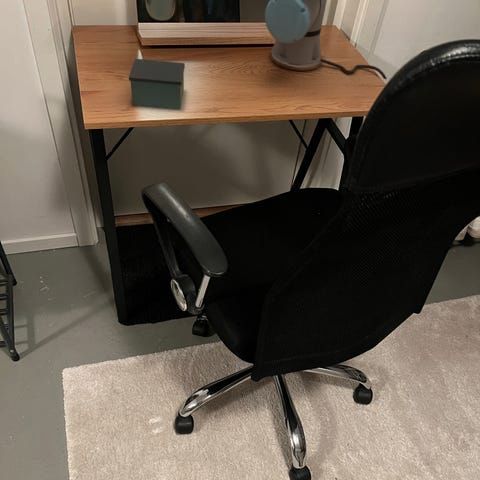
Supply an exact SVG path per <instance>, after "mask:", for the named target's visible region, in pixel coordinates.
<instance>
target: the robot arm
mask: <svg viewBox="0 0 480 480" xmlns="http://www.w3.org/2000/svg"><path fill="white" fill-rule="evenodd" d="M327 3H328V0H269V1H268V3H267V5H266V8H265V13H264V21H265V22H264V23H265V26H266V29H267V31H268V32H269V34H270V35H271V36H272V37H273V39H275V42H274V44H273V46H272V49H271V52H270V53H271V54H270V60H271V61H272V62H273V63H274V64H275V65H276V66H279V67H281V68H284V69H286V70H290V71H296V72H309V71H313V70H316V69H318V68H319V67H320V66H321V63H323V64H327V65H329V66H331V67H335V68H337V69H340V70H342V71H343V72H344V73H345V74H348V75H349V74H354V73H355V72H356V70H357V69H369V70H373V71H376V72H377V73H379V74H380V75H381V77H382V79H383V80H387V75H386V74H385V73H384V71H382V70H381V69H380V68H379V67H377V66H374V65H370V64H356V65H355V66H354V67H353V69H352V70H350V69H346V68H345V67H344V66H342V65H341V64H338V63H335V62H333V61H330V60H326V59H323V58H322V45H321V31H322V27H323V22H324V16H325V11H326V7H327ZM141 6H142V7H141V8H142V10H147V7H146V0H141ZM181 8H182V0H176V9H177V11H182V10H181Z"/></svg>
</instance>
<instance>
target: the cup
mask: <svg viewBox="0 0 480 480" xmlns="http://www.w3.org/2000/svg"><path fill="white" fill-rule="evenodd" d="M176 6H177V0H146V10H147V13H148V15H149V16H150V17H151V18H152V19H154V20H157V21H168V20H170V19H171V18H172V17H173V16H174V14H175V12H176V11H175V10H176Z"/></svg>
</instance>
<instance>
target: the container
mask: <svg viewBox="0 0 480 480" xmlns="http://www.w3.org/2000/svg"><path fill="white" fill-rule="evenodd" d="M185 67H186V63H185V62H177V61H166V60H155V59H144V58H134V61H133V63H132V67H131V69H130V72H129V76H128V81H129V82H130V91H131V99H132V100H131V102H132V106H133V107H134V106H135V107H145V108H146V107H149V108H158V109H170V110H182V103H183V98H184V92H185V82H184V81H185V79H184V78H185V76H184V75H185V74H184V73H185Z"/></svg>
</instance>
